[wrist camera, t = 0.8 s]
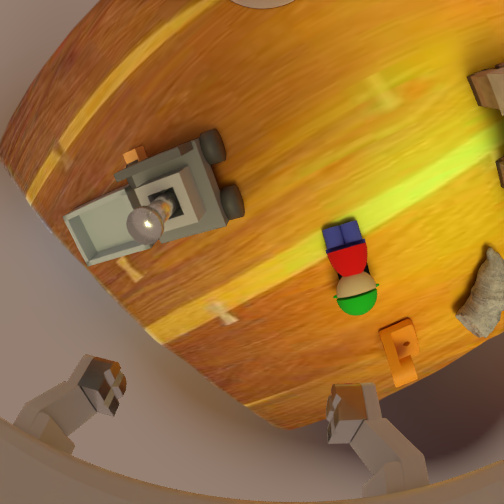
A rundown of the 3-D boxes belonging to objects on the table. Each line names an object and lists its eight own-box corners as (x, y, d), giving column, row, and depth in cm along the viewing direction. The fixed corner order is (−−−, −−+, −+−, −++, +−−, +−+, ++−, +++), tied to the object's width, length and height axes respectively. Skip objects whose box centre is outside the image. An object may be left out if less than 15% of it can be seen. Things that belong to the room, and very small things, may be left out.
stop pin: (157, 186, 41) (120, 215, 32) (183, 176, 40) (151, 203, 30) (168, 213, 43) (136, 248, 33) (194, 205, 42) (167, 239, 32)
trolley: (131, 150, 45) (93, 167, 35) (214, 117, 42) (191, 123, 32) (165, 232, 52) (138, 265, 42) (246, 209, 48) (234, 241, 38)
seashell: (486, 238, 45) (512, 265, 36) (510, 274, 48) (532, 300, 39) (434, 295, 52) (452, 328, 44) (464, 322, 55) (481, 352, 46)
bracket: (417, 345, 59) (431, 384, 49) (389, 356, 62) (399, 397, 51) (409, 315, 55) (426, 356, 45) (378, 328, 58) (390, 372, 47)
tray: (75, 208, 52) (62, 216, 48) (136, 180, 48) (124, 188, 44) (98, 255, 56) (87, 266, 52) (160, 236, 53) (151, 248, 49)
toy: (316, 235, 53) (338, 316, 52) (313, 231, 45) (337, 326, 44) (361, 222, 51) (383, 303, 49) (365, 216, 43) (390, 311, 42)
